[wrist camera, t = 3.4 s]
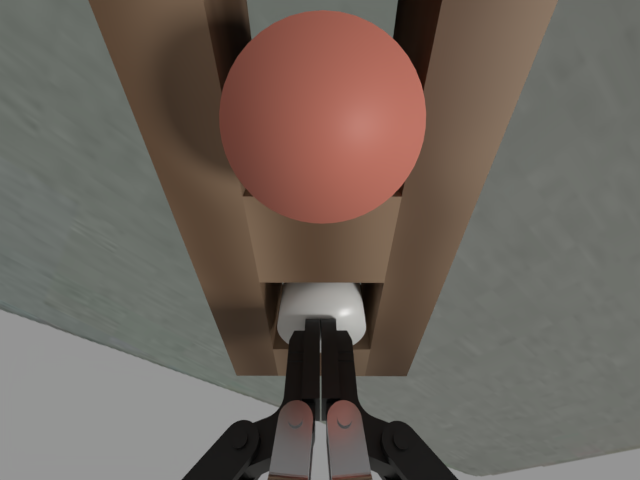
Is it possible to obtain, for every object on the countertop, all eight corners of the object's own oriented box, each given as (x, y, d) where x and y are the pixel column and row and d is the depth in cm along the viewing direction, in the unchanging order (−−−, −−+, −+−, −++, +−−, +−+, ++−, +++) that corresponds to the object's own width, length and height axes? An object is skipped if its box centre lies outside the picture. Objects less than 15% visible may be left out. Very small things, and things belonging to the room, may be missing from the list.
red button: (405, 12, 7) (453, 9, 5) (382, 168, 10) (404, 223, 7) (240, 13, 7) (192, 10, 5) (261, 168, 10) (239, 223, 7)
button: (361, 250, 15) (370, 300, 12) (355, 301, 18) (361, 352, 15) (281, 250, 15) (272, 300, 12) (287, 301, 18) (281, 352, 15)
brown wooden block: (510, -153, 8) (682, -309, 4) (391, 312, 22) (406, 376, 18) (136, -150, 8) (-32, -304, 4) (251, 312, 22) (236, 375, 18)
